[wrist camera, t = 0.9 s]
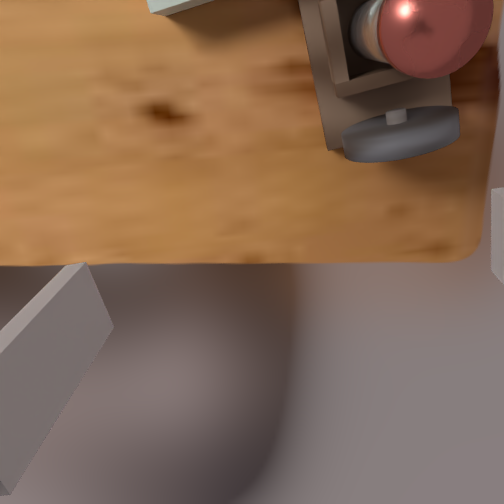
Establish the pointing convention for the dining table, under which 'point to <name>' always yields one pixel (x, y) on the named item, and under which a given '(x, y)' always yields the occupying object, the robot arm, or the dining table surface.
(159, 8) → the tray
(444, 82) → the block
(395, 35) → the pin
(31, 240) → the dining table surface
